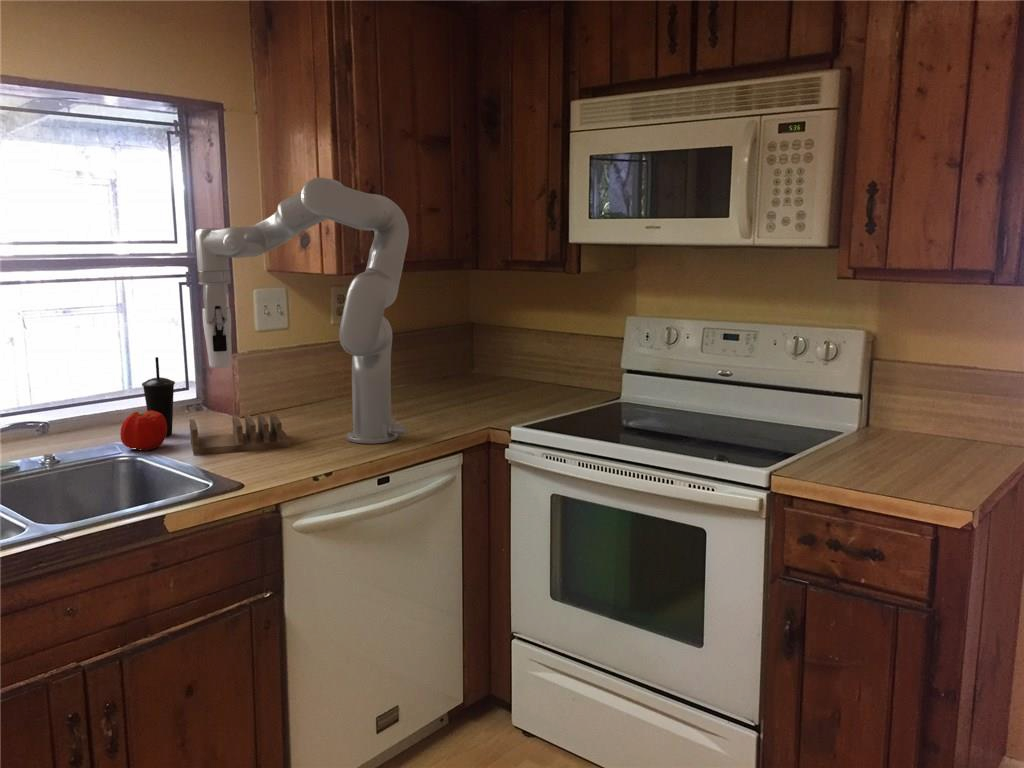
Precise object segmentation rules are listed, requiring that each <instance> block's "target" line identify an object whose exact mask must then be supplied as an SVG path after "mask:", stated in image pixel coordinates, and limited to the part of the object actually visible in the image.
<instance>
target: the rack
mask: <svg viewBox="0 0 1024 768" xmlns="http://www.w3.org/2000/svg"><path fill="white" fill-rule="evenodd" d="M231 418H232V419H231V420H232V422H231V423H232V433H229V434H227V433H226V434H217V435H202V436H199V429H198V426H197V422H196V419H195V418H190V419H189V430H190V431H189V432H190V433H189V434H190V445H192V446H191V449H192V453H193V456H196V455H195V454H202V455H209V454H208V453H213V454H222V453H221V452H225V453H235V452H234V451H236V452H245V451H246V452H247V451H255V450H256V451H257V450H268V449H278V448H290V447H291V440H290V438H289V437H288V435H287V434H286V432H285V431H284V429H283V428H282V427H283V425H282V422H281V420H280V419H279V417H278V415H276V413H274V412H272V413H269V422H268V421H267V419H266V417H265V416H264V415H263V413H260V414H259V413H258V414H257V425H256V423H255V421H254V419H253V418H252V416H251V415H250V414H245V415H244V426H245V427H243V424H242V423H241V420H240V418H239V417H238V415H232V417H231ZM256 426H257V427H256ZM243 428H245V432H243V431H244V429H243ZM256 428H257V429H256Z"/></svg>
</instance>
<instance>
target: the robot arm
mask: <svg viewBox="0 0 1024 768" xmlns="http://www.w3.org/2000/svg"><path fill="white" fill-rule="evenodd" d="M327 220H330V221H333V222H335V223H339V224H341V225H345V226H346V227H350V228H353V229H356V230H359V231H373V233H374V237H373V241H372V244H371V246H370V249H369V254H368V259H367V263H366V268H365V270H364V271H363V272H361V273H359V274H357V275H356V276H355V277H354V278H353V279H352V280H351V282H350V284H349V287H348V289H347V293H346V297H345V300H344V301H345V302H344V306H343V311H342V315H341V319H340V325H339V331H338V334H339V335H338V338H339V343H340V345H341V347H342V349H343V350H344V351H345V352H346V353H347V354H349V355H351V358H352V359H351V394H352V395H351V398H352V401H351V402H352V430H351V431H349V432H347V434H346V439H347V440H348V441H350V442H352V443H355V444H363V445H364V444H368V445H369V444H371V445H373V444H383V443H384V444H385V443H389V442H392V441H395V440H397V439H398V437H399V436H398V435H407V427H406V425H402V424H399V425H397V424H396V419H392V395H391V393H392V392H391V391H392V389H391V388H392V385H391V378H392V377H391V376H392V375H391V372H392V371H391V370H392V369H391V367H392V365H391V364H392V363H391V359H392V357H391V356H392V347H393V346H392V345H393V329H392V326H391V324H390V322H389V319H387V318H386V317H385V316H384V313H385V309H387V308H389V307H390V306H392V304H394V303H395V301H396V299H397V297H398V293H399V288H400V282H401V277H402V273H403V268H404V264H405V263H404V262H405V258H406V253H407V248H408V244H409V243H408V242H409V237H410V233H409V232H410V228H409V224H408V220H407V218H406V215H405V213H404V212H403V210H402V209H401V207H399V206H398V204H396V203H395V201H393V200H392V199H390V198H388V197H387V196H384V195H381V194H376V193H367V192H364V191H359V190H357V189H355V188H351V187H348V186H345V185H344V184H343V183H341V182H340V181H338V180H336V179H334V178H333V179H332V178H326V177H314V178H312V179H310V180H308V181H307V182H306V183H304V185H303V187H302V189H301V191H299V192H297V193H296V194H293V195H291V196H290V197H288V198H285V199H283V200H281V201H280V202H278V204H277V209H276V211H275V212H274V213H273V214H272V215H270V216H268V217H267V218H265V219H262V220H261V221H259V222H257V223H255V224H253V225H250V226H229V227H224V228H223V227H202V228H198V229H196V230H195V234H194V235H195V249H196V263H197V265H196V266H197V276H198V277H197V278H198V285H202V293H203V294H202V295H203V297H202V298H203V308H205V316H206V323H207V324H210V322H213V335H214V336H212V338H213V351H214V352H219V351H227V342H226V335H225V326H224V324H225V323H226V322H227V307H228V306H227V305H228V303H227V301H228V300H227V289H226V288H227V287H226V285H230V284H231V274H230V273H231V271H230V261H229V259H230V258H233V259H241V258H252V257H253V258H254V257H258V256H261V255H263V254H265V253H268V252H269V251H272V250H273V249H276V248H278V247H280V246H281V245H284V244H285V243H287V242H288V241H290V240H291V239H292V238H295V237H296V236H297V235H298V234H301V233H302V232H304V231H306V230H308V229H310V228H313V227H314V226H316V225H318V224H320V223H322V222H324V221H327ZM222 316H223V318H222ZM215 318H216V321H217V323H214V320H215ZM224 318H225V323H224ZM215 329H216V330H215Z"/></svg>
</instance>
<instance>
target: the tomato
mask: <svg viewBox="0 0 1024 768" xmlns="http://www.w3.org/2000/svg"><path fill="white" fill-rule="evenodd" d="M121 424H122V425H121V428H120V440H121V443H122V445H124V446H125V447H127V448H128V447H129V449H130V448H136V450H139V449H141V450H140V451H142V450H147V451H150V450H153V449H156V448H158V447H159V446H161V445H162V444H163V443H164V441H165V440H166V438H167V437H166V435H167V422H166V419H165V417H164V416H163V414H161V413H159V412H156V411H153V410H151V411H145V412H141V413H140V412H138V411H134V412H132V413H130V415H128V416H127V417H126V418H125V420H124V421H123V422H122V423H121Z"/></svg>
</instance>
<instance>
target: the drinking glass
mask: <svg viewBox="0 0 1024 768" xmlns="http://www.w3.org/2000/svg"><path fill="white" fill-rule="evenodd" d="M201 312H202V325H203V332H204V338H205V339H204V340H205V345H206V350H207V351H206V352H207V357H208V366H209V368H212V369H222V368H223V369H224V368H225V369H226V368H228V367H230V366H231V365H232V359H231V358H232V357H231V355H232V354H231V353H232V352H231V351H232V313H231V307H228V306H227V322H226V323H225V318H224V323H225V324H224V326H225V335H226V342H227V351H219V352H214V351H213V338H212V336H214V335H213V322H210V324H207V323H206V316H205V308H204V307H203V308H202V311H201ZM222 318H223V316H222ZM214 323H217V321H216V318H215V320H214ZM215 330H216V329H215Z"/></svg>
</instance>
